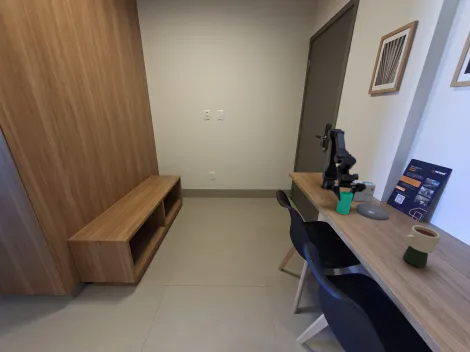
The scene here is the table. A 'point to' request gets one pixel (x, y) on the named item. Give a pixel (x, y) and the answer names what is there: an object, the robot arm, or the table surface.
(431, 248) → the character mug
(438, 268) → the table surface
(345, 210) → the candle
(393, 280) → the table surface
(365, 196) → the light bulb box
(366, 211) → the charcoal plinth
